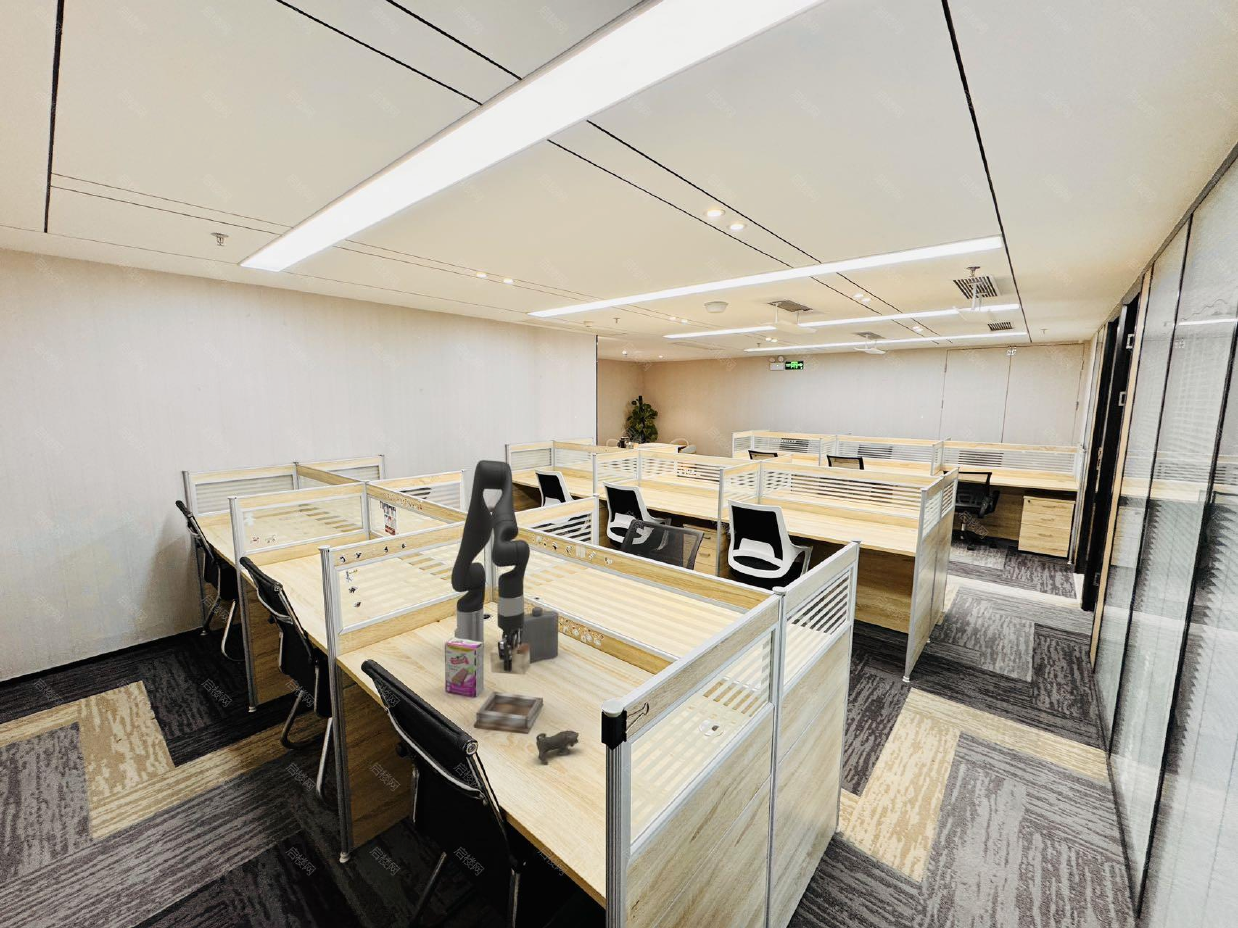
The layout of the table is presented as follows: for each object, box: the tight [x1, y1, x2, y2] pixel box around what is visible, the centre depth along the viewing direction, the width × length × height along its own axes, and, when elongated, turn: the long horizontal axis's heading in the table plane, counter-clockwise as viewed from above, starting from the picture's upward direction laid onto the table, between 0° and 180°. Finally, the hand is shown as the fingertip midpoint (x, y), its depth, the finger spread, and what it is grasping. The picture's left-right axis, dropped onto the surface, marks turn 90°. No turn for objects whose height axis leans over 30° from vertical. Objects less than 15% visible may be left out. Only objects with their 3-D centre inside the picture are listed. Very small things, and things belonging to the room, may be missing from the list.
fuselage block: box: [490, 643, 531, 676], centre depth 146 cm, size 10×4×7 cm, turn 80°
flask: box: [520, 606, 559, 665], centre depth 178 cm, size 15×6×20 cm, turn 117°
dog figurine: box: [535, 730, 580, 766], centre depth 132 cm, size 12×6×7 cm, turn 113°
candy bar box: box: [444, 636, 485, 698], centre depth 159 cm, size 11×5×16 cm, turn 74°
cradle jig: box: [473, 691, 544, 735], centre depth 148 cm, size 16×14×4 cm
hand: (511, 665), depth 146 cm, fingers closed on fuselage block, 4 cm apart
